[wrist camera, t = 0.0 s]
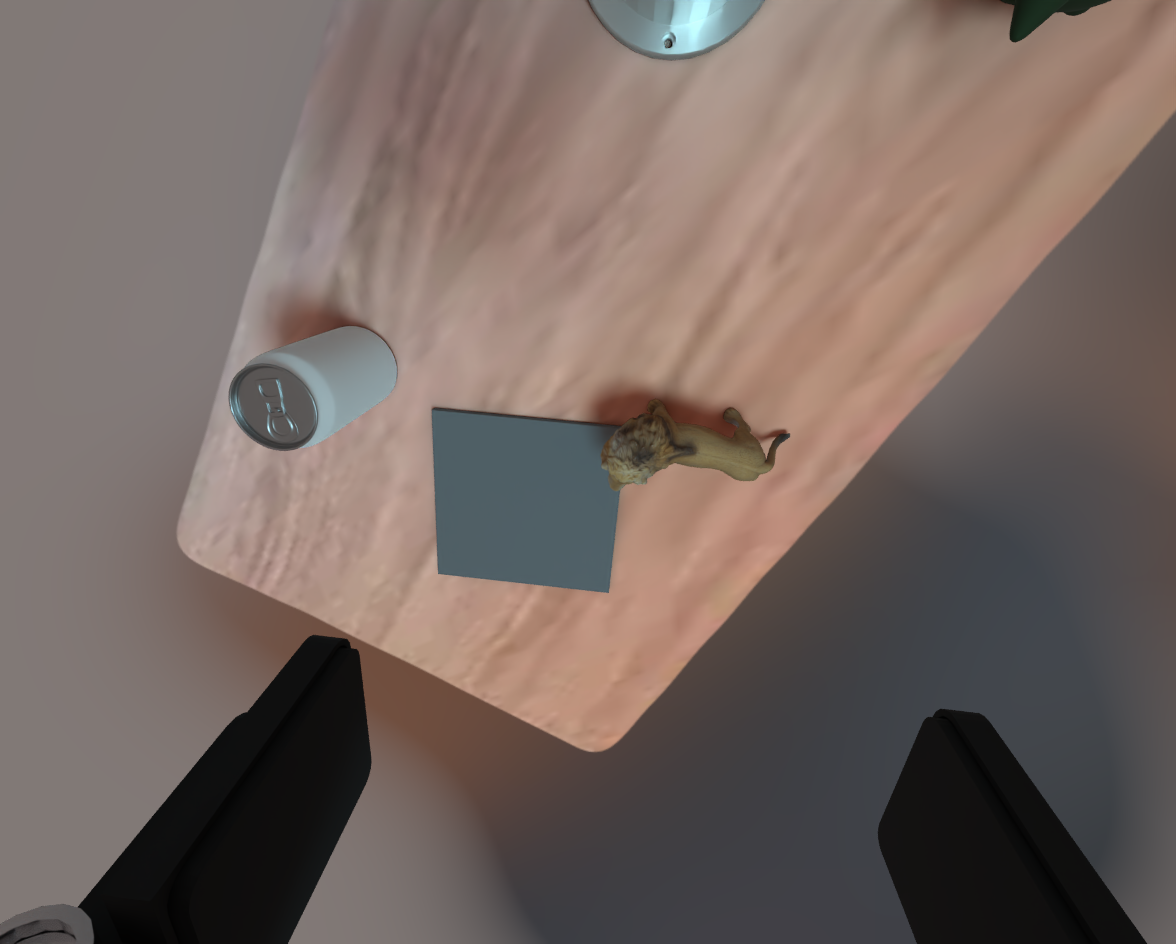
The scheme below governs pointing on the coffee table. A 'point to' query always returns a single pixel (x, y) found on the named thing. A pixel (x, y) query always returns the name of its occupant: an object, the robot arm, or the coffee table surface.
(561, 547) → the mat
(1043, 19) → the toy figurine
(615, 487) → the lion figurine
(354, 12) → the coffee table surface
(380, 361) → the can
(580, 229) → the coffee table surface
